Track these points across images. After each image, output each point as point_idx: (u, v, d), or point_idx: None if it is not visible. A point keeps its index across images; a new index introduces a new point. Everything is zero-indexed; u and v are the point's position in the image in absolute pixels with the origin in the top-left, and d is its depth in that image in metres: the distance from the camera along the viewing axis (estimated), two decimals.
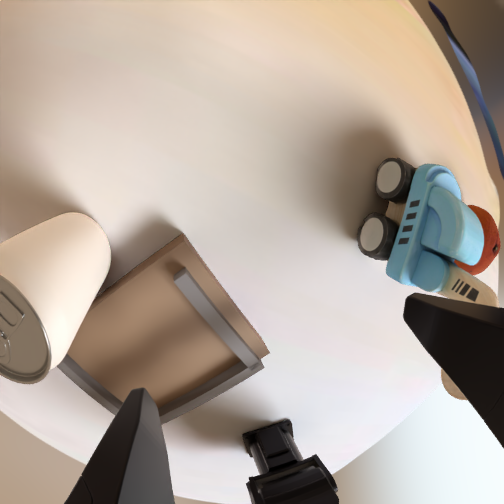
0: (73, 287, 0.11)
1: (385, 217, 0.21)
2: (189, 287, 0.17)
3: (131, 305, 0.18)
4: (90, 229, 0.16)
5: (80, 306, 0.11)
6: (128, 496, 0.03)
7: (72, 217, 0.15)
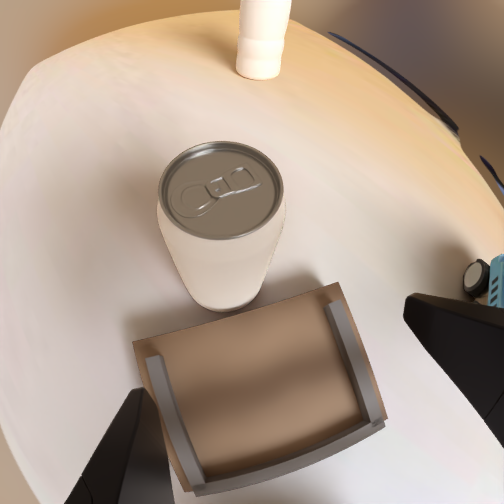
0: None
1: (475, 301, 0.20)
2: (340, 313, 0.18)
3: (274, 325, 0.19)
4: None
5: None
6: (128, 496, 0.03)
7: None
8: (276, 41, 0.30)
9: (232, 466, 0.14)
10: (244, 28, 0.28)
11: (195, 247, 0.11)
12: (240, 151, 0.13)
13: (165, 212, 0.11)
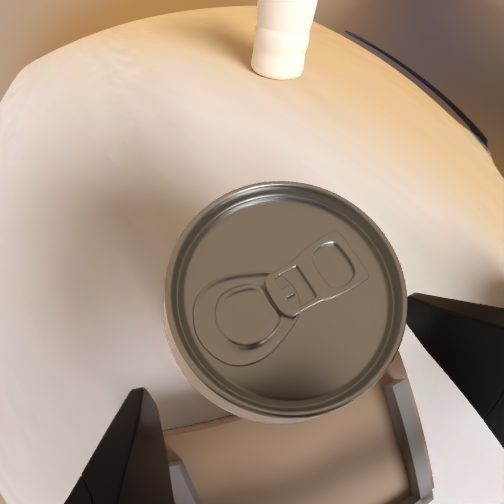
0: None
1: None
2: (404, 395, 0.12)
3: (324, 416, 0.13)
4: None
5: None
6: (128, 496, 0.03)
7: None
8: (302, 33, 0.24)
9: None
10: (263, 17, 0.22)
11: (251, 412, 0.05)
12: (318, 201, 0.07)
13: (187, 360, 0.05)
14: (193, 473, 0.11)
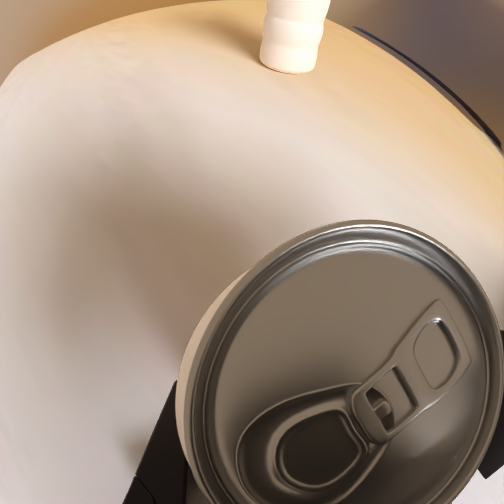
0: None
1: None
2: None
3: None
4: None
5: None
6: (189, 491, 0.04)
7: None
8: (316, 24, 0.21)
9: None
10: (274, 5, 0.19)
11: None
12: (411, 250, 0.04)
13: None
14: None
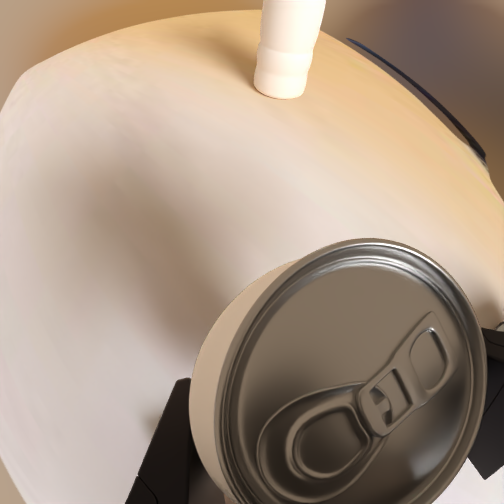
0: None
1: None
2: None
3: None
4: None
5: None
6: (191, 491, 0.04)
7: None
8: (305, 54, 0.25)
9: None
10: (267, 36, 0.24)
11: None
12: (410, 267, 0.05)
13: None
14: None
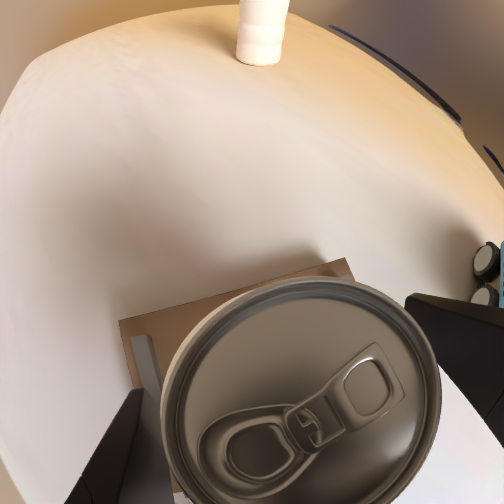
0: None
1: (487, 284, 0.19)
2: None
3: None
4: None
5: None
6: (128, 496, 0.03)
7: None
8: (277, 26, 0.28)
9: None
10: (244, 14, 0.27)
11: None
12: (356, 298, 0.05)
13: (193, 501, 0.03)
14: (159, 351, 0.15)
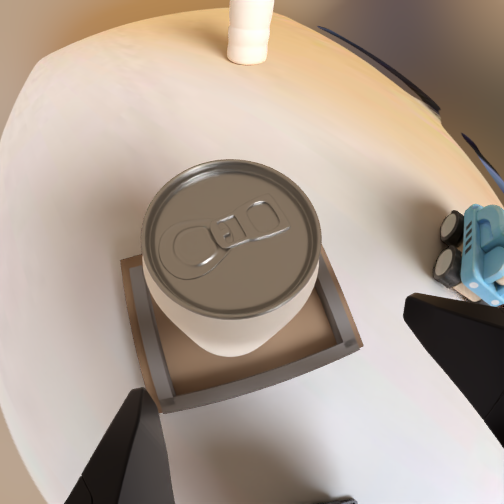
0: None
1: None
2: None
3: None
4: None
5: None
6: (128, 496, 0.03)
7: None
8: (262, 29, 0.32)
9: (202, 383, 0.17)
10: (233, 19, 0.31)
11: (194, 321, 0.08)
12: (259, 174, 0.10)
13: (150, 271, 0.07)
14: None
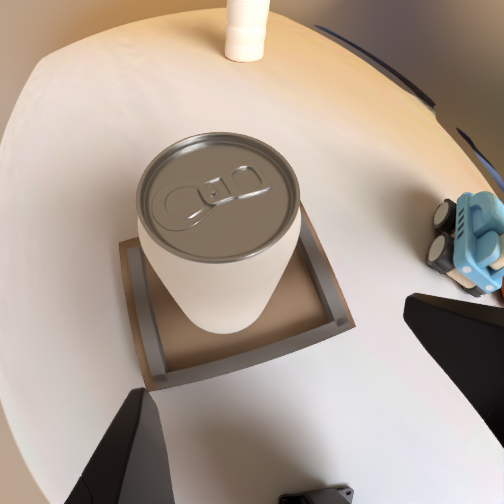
0: None
1: (444, 232, 0.24)
2: None
3: None
4: None
5: None
6: (128, 496, 0.03)
7: None
8: (258, 28, 0.33)
9: (195, 360, 0.17)
10: (230, 18, 0.32)
11: (181, 270, 0.09)
12: (245, 145, 0.10)
13: (142, 222, 0.08)
14: (148, 263, 0.20)
